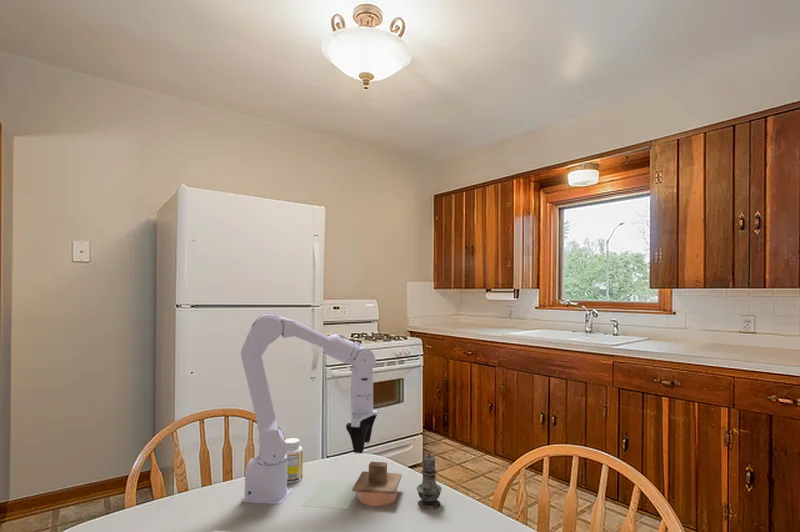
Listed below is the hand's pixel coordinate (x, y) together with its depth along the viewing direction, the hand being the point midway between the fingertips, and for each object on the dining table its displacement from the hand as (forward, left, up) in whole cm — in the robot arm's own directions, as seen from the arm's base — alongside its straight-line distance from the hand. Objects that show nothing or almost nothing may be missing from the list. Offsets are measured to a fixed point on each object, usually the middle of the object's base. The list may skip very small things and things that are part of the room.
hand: (362, 447), depth 117 cm
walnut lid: (+6, -7, -6) cm, 11 cm away
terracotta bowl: (+6, -7, -9) cm, 13 cm away
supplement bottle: (-19, 0, -10) cm, 21 cm away
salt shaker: (+18, -8, -10) cm, 22 cm away
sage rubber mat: (-5, -7, -9) cm, 13 cm away
